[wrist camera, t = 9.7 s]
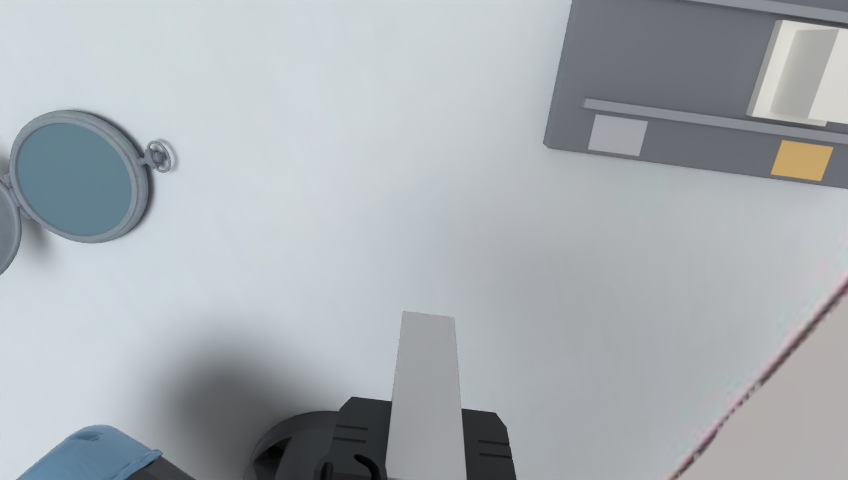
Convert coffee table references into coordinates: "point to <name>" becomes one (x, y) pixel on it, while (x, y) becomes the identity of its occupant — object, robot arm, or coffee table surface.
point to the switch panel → (687, 88)
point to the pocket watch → (73, 181)
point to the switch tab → (803, 75)
